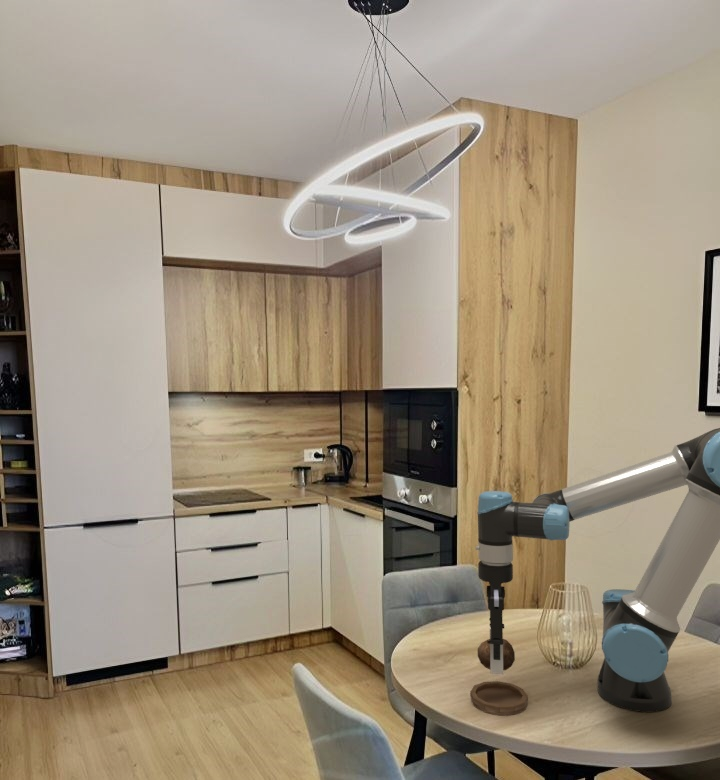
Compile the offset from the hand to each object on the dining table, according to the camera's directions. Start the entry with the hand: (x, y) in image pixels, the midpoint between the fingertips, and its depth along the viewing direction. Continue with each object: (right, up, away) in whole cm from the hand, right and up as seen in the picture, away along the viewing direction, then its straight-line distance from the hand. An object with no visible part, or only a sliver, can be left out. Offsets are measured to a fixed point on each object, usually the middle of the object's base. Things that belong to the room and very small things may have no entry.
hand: (496, 665), depth 133 cm
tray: (0, -8, 0) cm, 8 cm away
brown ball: (0, 0, 0) cm, 1 cm away
